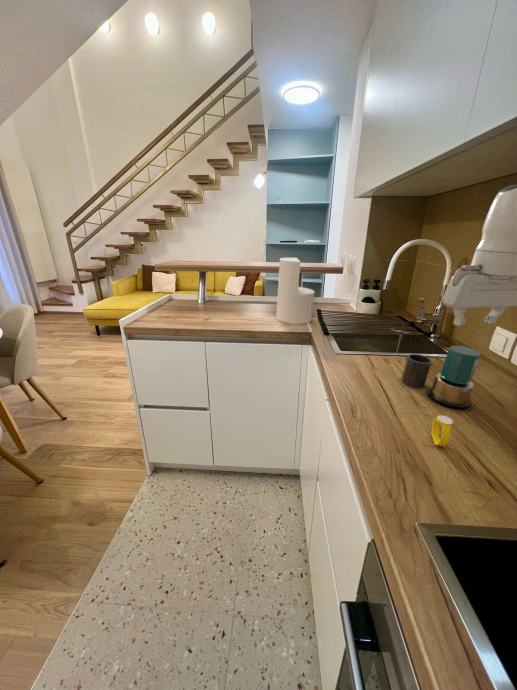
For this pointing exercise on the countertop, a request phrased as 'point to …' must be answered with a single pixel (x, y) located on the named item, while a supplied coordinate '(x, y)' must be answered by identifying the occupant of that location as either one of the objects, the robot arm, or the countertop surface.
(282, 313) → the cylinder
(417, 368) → the charcoal cup
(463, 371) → the teal cup
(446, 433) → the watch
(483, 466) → the countertop surface
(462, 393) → the towel holder
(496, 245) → the robot arm
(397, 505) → the countertop surface
